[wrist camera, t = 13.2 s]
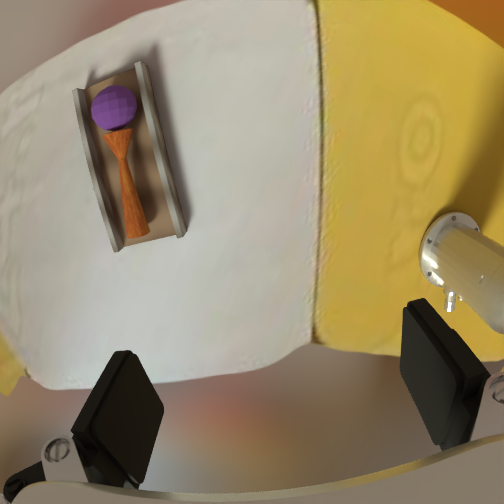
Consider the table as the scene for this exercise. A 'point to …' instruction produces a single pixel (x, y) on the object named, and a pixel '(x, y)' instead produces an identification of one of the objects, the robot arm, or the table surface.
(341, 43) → the table surface
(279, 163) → the table surface
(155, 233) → the rail cradle
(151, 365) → the table surface
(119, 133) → the kendama
